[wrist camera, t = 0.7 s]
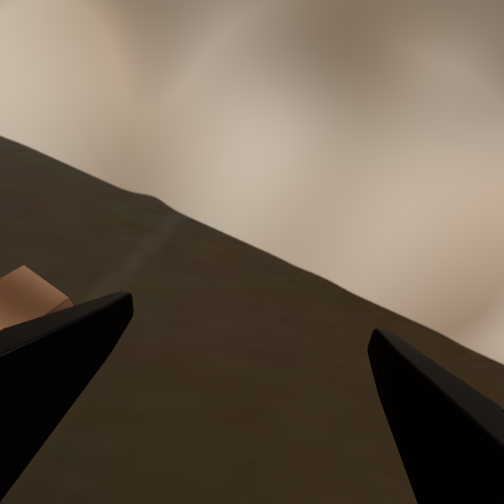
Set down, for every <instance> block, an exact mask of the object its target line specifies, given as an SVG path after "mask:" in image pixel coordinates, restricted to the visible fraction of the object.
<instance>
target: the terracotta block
mask: <svg viewBox="0 0 504 504" xmlns="http://www.w3.org/2000/svg"><path fill="white" fill-rule="evenodd" d="M69 307H73V305H72V303H71V301H70V300H69V298H68V297H67V296H66V295H64V294H63V293H61V292H60V291H59V290H57V289H56V288H54V287H53V286H52V285H50V284H49V283H48V282H46V281H45V280H43V279H42V278H41V277H39V276H38V275H37V274H35V273H34V272H32V271H31V270H30V269H28V268H27V267H26V266H24V265H23V266H21V267H20V268H18V269H16V270H14V271H13V272H11V273H9V274H7V275H6V276H4V277H2V278H0V330H2V329H3V328H6V327H10V326H13V325H16V324H19V323H22V322H25V321H28V320H32V319H35V318H38V317H41V316H44V315H47V314H50V313H54V312H57V311H60V310H63V309H66V308H69Z"/></svg>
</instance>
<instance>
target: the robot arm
mask: <svg viewBox="0 0 504 504" xmlns="http://www.w3.org/2000/svg"><path fill="white" fill-rule="evenodd" d="M132 316H133V300H132V295H131V294H130V293H127V292H117V293H113V294H110V295H107V296H104V297H101V298H98V299H95V300H91V301H88V302H85V303H82V304H79V305H76V306H73V307H69V308H66V309H63V310H60V311H57V312H54V313H50V314H47V315H44V316H41V317H38V318H35V319H32V320H28V321H25V322H22V323H19V324H16V325H13V326H10V327H6V328H3V329H2V330H0V502H1V500H2V499H3V498H4V496H5V495H6V494H7V492H8V491H9V490H10V488H11V487H12V486H13V484H14V483H15V481H16V480H17V479H18V477H19V476H20V475H21V473H22V472H23V471H24V469H25V468H26V467H27V465H28V464H29V463H30V461H31V460H32V459H33V457H34V456H35V455H36V453H37V452H38V451H39V449H40V448H41V446H42V445H43V444H44V442H45V441H46V440H47V438H48V437H49V436H50V434H51V433H52V432H53V430H54V429H55V428H56V426H57V425H58V424H59V422H60V421H61V420H62V418H63V417H64V415H65V414H66V413H67V411H68V410H69V409H70V407H71V406H72V405H73V403H74V402H75V401H76V399H77V398H78V397H79V395H80V394H81V393H82V391H83V390H84V389H85V387H86V386H87V385H88V383H89V382H90V380H91V379H92V378H93V376H94V375H95V374H96V372H97V371H98V370H99V368H100V367H101V366H102V364H103V363H104V362H105V360H106V359H107V357H108V356H109V355H110V353H111V352H112V350H113V349H114V347H115V345H116V344H117V342H118V340H119V339H120V337H121V335H122V334H123V332H124V330H125V329H126V327H127V325H128V324H129V322H130V320H131V319H132ZM368 356H369V360H370V364H371V368H372V372H373V376H374V380H375V384H376V388H377V392H378V395H379V398H380V401H381V404H382V407H383V409H384V412H385V415H386V418H387V420H388V423H389V426H390V429H391V431H392V434H393V437H394V440H395V442H396V445H397V448H398V451H399V453H400V456H401V459H402V462H403V464H404V467H405V470H406V473H407V475H408V478H409V481H410V484H411V486H412V489H413V492H414V495H415V497H416V500H417V503H418V504H504V409H503V410H502V407H501V406H499V405H498V404H496V403H495V402H493V401H492V400H490V399H489V398H487V397H486V396H484V395H483V394H481V393H480V392H478V391H477V390H476V389H474V388H473V387H471V386H470V385H468V384H467V383H465V382H464V381H462V380H461V379H459V378H458V377H456V376H455V375H453V374H452V373H450V372H449V371H448V370H446V369H445V368H443V367H442V366H440V365H439V364H437V363H436V362H434V361H433V360H431V359H430V358H428V357H427V356H425V355H424V354H422V353H421V352H420V351H418V350H417V349H415V348H414V347H412V346H411V345H409V344H408V343H406V342H405V341H403V340H402V339H400V338H399V337H397V336H396V335H394V334H393V333H392V332H390V331H389V330H386V329H379V328H376V329H374V330H373V333H372V336H371V339H370V342H369V345H368Z"/></svg>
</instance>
